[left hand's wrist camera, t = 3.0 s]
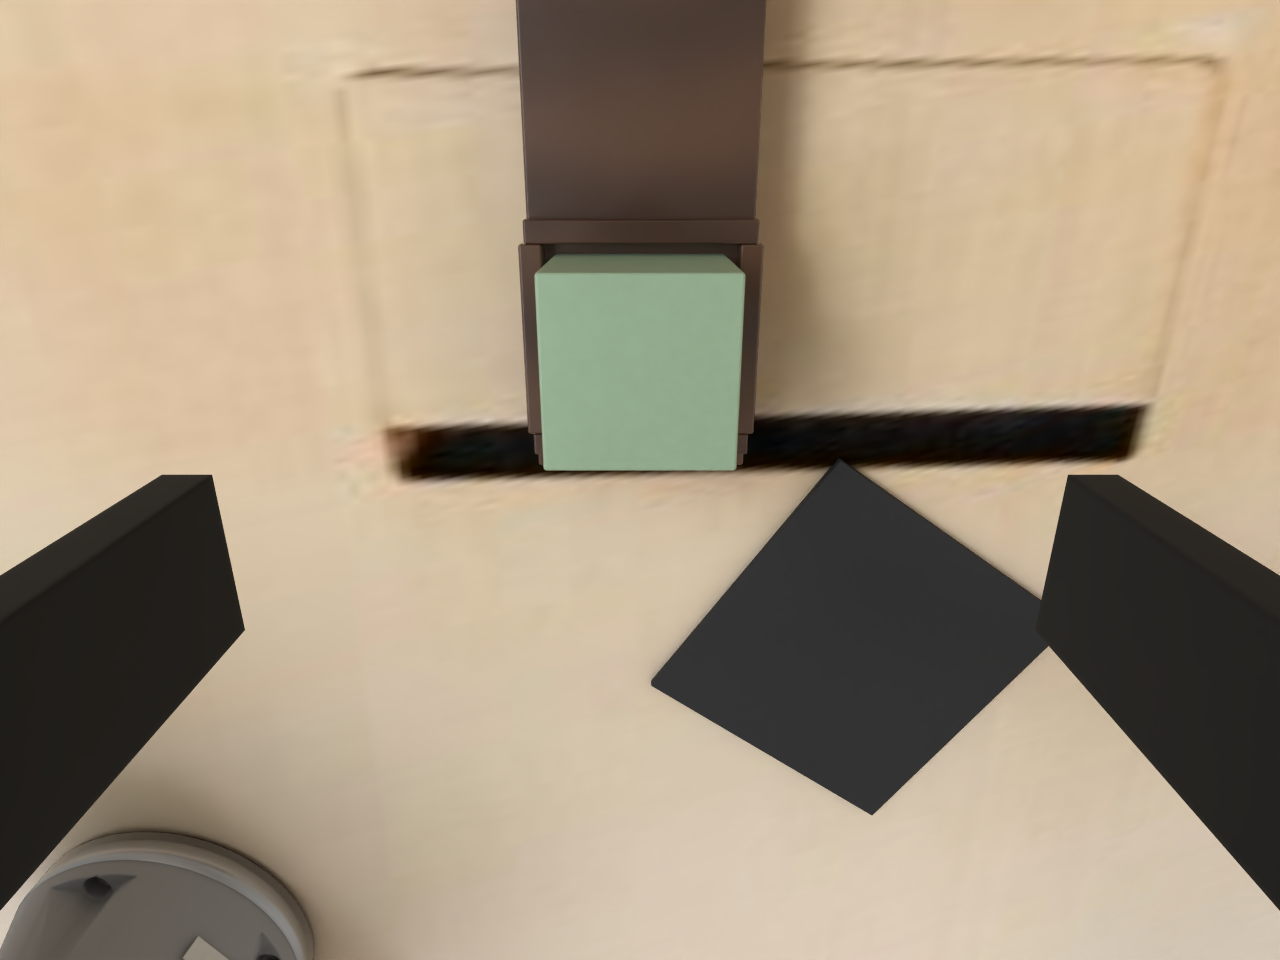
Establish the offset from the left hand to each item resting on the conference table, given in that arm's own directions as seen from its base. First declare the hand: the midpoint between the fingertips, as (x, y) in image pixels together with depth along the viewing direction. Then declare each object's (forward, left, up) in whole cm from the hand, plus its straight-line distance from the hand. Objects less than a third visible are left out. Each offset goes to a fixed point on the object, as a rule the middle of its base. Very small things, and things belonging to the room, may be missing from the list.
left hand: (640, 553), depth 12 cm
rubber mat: (-7, -17, -21) cm, 28 cm away
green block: (0, 0, -18) cm, 18 cm away
